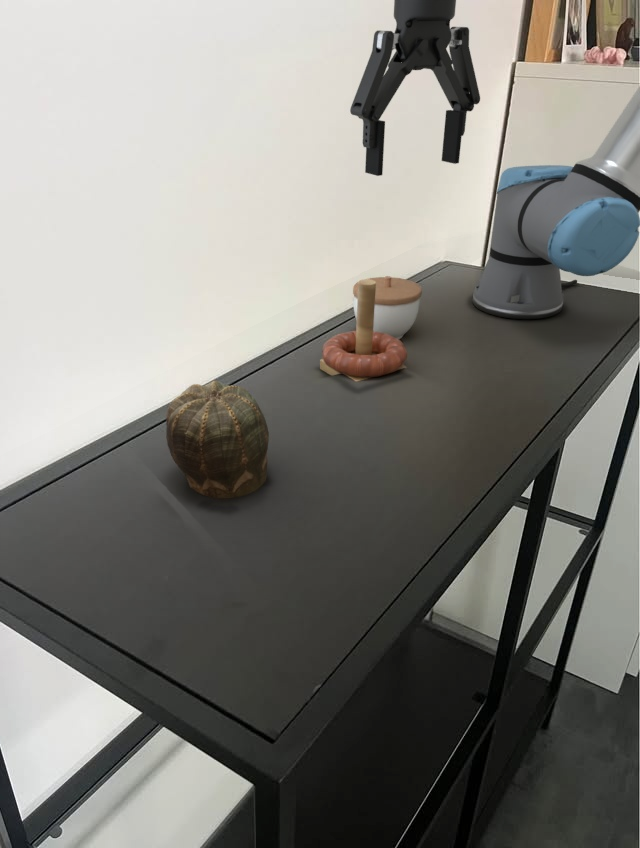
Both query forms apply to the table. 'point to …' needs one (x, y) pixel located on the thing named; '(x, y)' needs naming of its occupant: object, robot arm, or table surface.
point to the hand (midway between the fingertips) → (412, 168)
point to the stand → (362, 325)
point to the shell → (218, 439)
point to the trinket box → (393, 305)
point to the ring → (364, 365)
